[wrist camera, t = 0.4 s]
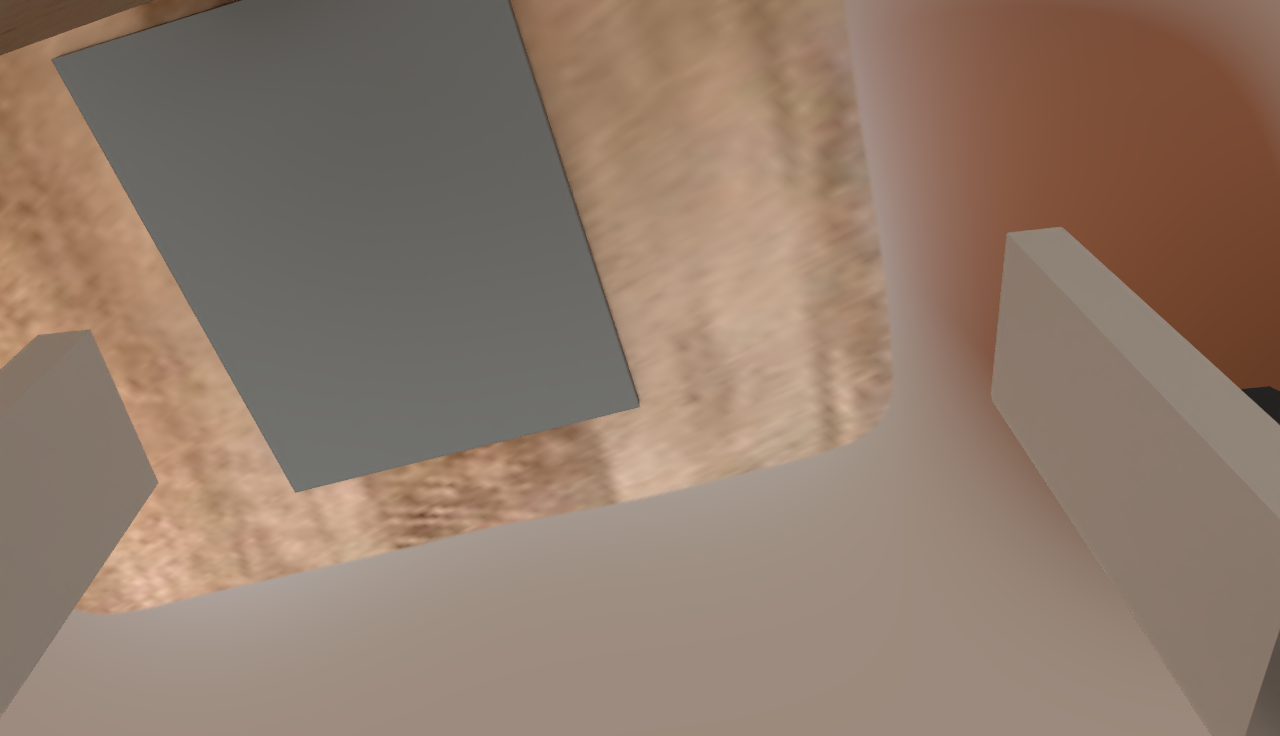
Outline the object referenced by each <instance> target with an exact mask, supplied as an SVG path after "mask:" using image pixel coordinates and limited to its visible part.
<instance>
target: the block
mask: <svg viewBox="0 0 1280 736" xmlns="http://www.w3.org/2000/svg"><path fill="white" fill-rule="evenodd" d="M149 1H152V0H0V55H2V54H5V53H8V52H11V51H13V50H16V49H19V48H22V47H24V46H27V45H30V44H33V43H36V42H38V41H41V40H44V39H47V38H49V37H52V36H55V35H58V34H61V33H63V32H66V31H69V30H72V29H74V28H77V27H80V26H83V25H86V24H88V23H91V22H94V21H97V20H99V19H102V18H105V17H108V16H111V15H113V14H116V13H119V12H122V11H124V10H127V9H130V8H133V7H136V6H138V5H141V4H144V3H147V2H149Z"/></svg>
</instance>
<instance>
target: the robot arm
mask: <svg viewBox="0 0 1280 736" xmlns="http://www.w3.org/2000/svg"><path fill="white" fill-rule="evenodd" d="M991 400H992V401H993V403H994V404H995V406H996V407H997V409H998V410H999V412H1000V413H1001V415H1002V416H1003V418H1004V420H1005V421H1006V422H1007V424H1008V425H1009V427H1010V429H1011V430H1012V431H1013V433H1014V435H1015V436H1016V438H1017V439H1018V441H1019V442H1020V444H1021V445H1022V447H1023V448H1024V450H1025V451H1026V453H1027V455H1028V456H1029V458H1030V459H1031V461H1032V462H1033V464H1034V465H1035V467H1036V468H1037V470H1038V471H1039V473H1040V474H1041V476H1042V478H1043V479H1044V481H1045V482H1046V484H1047V485H1048V487H1049V488H1050V490H1051V491H1052V493H1053V494H1054V496H1055V497H1056V499H1057V500H1058V502H1059V503H1060V505H1061V507H1062V508H1063V510H1064V511H1065V513H1066V514H1067V516H1068V517H1069V519H1070V520H1071V522H1072V523H1073V525H1074V526H1075V528H1076V529H1077V531H1078V532H1079V534H1080V535H1081V537H1082V539H1083V540H1084V541H1085V543H1086V544H1087V546H1088V547H1089V549H1090V551H1091V552H1092V554H1093V555H1094V557H1095V558H1096V560H1097V561H1098V563H1099V564H1100V566H1101V568H1102V569H1103V571H1104V572H1105V574H1106V575H1107V576H1108V578H1109V580H1110V581H1111V583H1112V584H1113V586H1114V587H1115V589H1116V590H1117V592H1118V593H1119V595H1120V597H1121V598H1122V600H1123V601H1124V603H1125V604H1126V606H1127V607H1128V609H1129V610H1130V612H1131V613H1132V615H1133V616H1134V618H1135V619H1136V621H1137V622H1138V624H1139V626H1140V627H1141V628H1142V630H1143V632H1144V633H1145V635H1146V636H1147V638H1148V639H1149V641H1150V642H1151V644H1152V645H1153V647H1154V648H1155V650H1156V651H1157V653H1158V654H1159V656H1160V658H1161V659H1162V660H1163V662H1164V664H1165V665H1166V667H1167V668H1168V670H1169V671H1170V673H1171V674H1172V676H1173V677H1174V679H1175V680H1176V682H1177V684H1178V685H1179V686H1180V688H1181V690H1182V691H1183V693H1184V694H1185V696H1186V697H1187V699H1188V700H1189V702H1190V703H1191V705H1192V706H1193V708H1194V709H1195V711H1196V713H1197V714H1198V716H1199V717H1200V719H1201V720H1202V722H1203V723H1204V725H1205V726H1206V728H1207V729H1208V731H1209V732H1210V734H1211V735H1212V736H1280V391H1278V390H1276V389H1273V388H1272V387H1269V386H1268V387H1258V388H1249V389H1240V388H1238V387H1237V386H1236V385H1235V384H1234V383H1233V382H1232V381H1231V380H1230V379H1228V378H1227V377H1226V376H1225V375H1224V374H1223V373H1222V372H1221V371H1220V370H1219V369H1218V368H1216V367H1215V366H1214V365H1213V364H1212V363H1211V362H1210V361H1209V360H1208V359H1206V358H1205V357H1204V356H1203V355H1202V354H1201V353H1200V352H1199V351H1198V350H1197V349H1196V348H1194V347H1193V346H1192V345H1191V344H1190V343H1189V342H1188V341H1187V340H1186V339H1185V338H1183V337H1182V336H1181V335H1180V334H1179V333H1178V332H1177V331H1176V330H1174V328H1172V327H1171V326H1170V325H1169V324H1168V323H1167V322H1166V321H1165V320H1164V319H1162V318H1161V317H1160V316H1159V315H1158V314H1157V313H1156V312H1155V311H1154V310H1153V309H1152V308H1150V307H1149V306H1148V305H1147V304H1146V303H1145V302H1144V301H1143V300H1142V299H1141V298H1139V297H1138V296H1137V295H1136V294H1135V293H1134V292H1132V290H1130V288H1128V287H1127V286H1126V285H1125V284H1124V283H1123V282H1122V281H1121V280H1120V279H1119V278H1117V277H1116V276H1115V275H1114V274H1113V273H1112V272H1111V271H1110V270H1109V269H1107V268H1106V267H1105V266H1104V265H1103V264H1102V263H1101V262H1100V261H1099V260H1097V259H1096V258H1095V257H1094V256H1093V255H1092V254H1091V253H1090V252H1089V251H1088V250H1087V249H1086V248H1084V247H1083V246H1082V245H1081V244H1080V243H1079V242H1078V241H1077V240H1076V239H1074V238H1073V237H1072V236H1071V235H1070V234H1069V233H1068V232H1067V231H1066V230H1064V229H1063V228H1062V227H1057V228H1048V229H1038V230H1028V231H1019V232H1010V233H1007V237H1006V248H1005V258H1004V268H1003V278H1002V288H1001V299H1000V308H999V319H998V329H997V339H996V349H995V360H994V369H993V380H992V391H991ZM157 484H158V481H157V478H156V476H155V474H154V472H153V469H152V467H151V465H150V463H149V460H148V458H147V456H146V454H145V451H144V449H143V447H142V445H141V442H140V440H139V438H138V436H137V433H136V431H135V429H134V427H133V424H132V422H131V420H130V418H129V415H128V413H127V411H126V409H125V406H124V404H123V402H122V400H121V397H120V395H119V393H118V391H117V388H116V386H115V384H114V382H113V380H112V377H111V375H110V373H109V371H108V368H107V366H106V364H105V362H104V359H103V357H102V355H101V353H100V350H99V348H98V346H97V344H96V341H95V339H94V337H93V335H92V332H91V330H82V331H73V332H63V333H54V334H44V335H38V336H37V337H36V338H35V339H33V340H32V341H31V342H30V343H29V344H28V345H27V346H26V347H25V348H24V349H23V350H21V351H20V352H19V353H18V354H17V355H16V356H15V357H14V358H13V359H12V360H11V361H9V362H8V363H7V364H6V365H5V366H4V367H3V368H2V369H1V370H0V718H1V716H2V715H3V713H4V712H5V710H6V709H7V707H8V706H9V704H10V703H11V702H12V700H13V699H14V697H15V695H16V694H17V693H18V691H19V690H20V688H21V686H22V685H23V683H24V682H25V681H26V679H27V678H28V676H29V675H30V673H31V672H32V670H33V668H34V667H35V666H36V664H37V663H38V661H39V660H40V658H41V657H42V655H43V653H44V652H45V651H46V649H47V648H48V646H49V645H50V643H51V642H52V640H53V639H54V637H55V636H56V634H57V633H58V631H59V630H60V629H61V627H62V625H63V624H64V622H65V621H66V620H67V618H68V616H69V615H70V614H71V612H72V611H73V609H74V608H75V606H76V605H77V603H78V602H79V600H80V599H81V597H82V596H83V594H84V593H85V591H86V590H87V588H88V587H89V585H90V584H91V582H92V581H93V579H94V578H95V576H96V575H97V573H98V572H99V570H100V569H101V567H102V566H103V564H104V563H105V561H106V560H107V559H108V557H109V556H110V554H111V553H112V551H113V550H114V548H115V547H116V545H117V544H118V542H119V541H120V539H121V538H122V536H123V535H124V533H125V532H126V530H127V529H128V527H129V526H130V524H131V523H132V521H133V520H134V518H135V517H136V515H137V514H138V512H139V511H140V509H141V508H142V506H143V505H144V503H145V502H146V500H147V499H148V497H149V496H150V494H151V493H152V491H153V490H154V488H155V487H156V486H157Z"/></svg>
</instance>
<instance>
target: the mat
mask: <svg viewBox="0 0 1280 736" xmlns="http://www.w3.org/2000/svg"><path fill="white" fill-rule="evenodd" d="M51 60H52V62H53V64H54V66H55V67H56V69H57V71H58V73H59V74H60V76H61V78H62V80H63V81H64V83H65V85H66V87H67V89H68V90H69V92H70V94H71V96H72V97H73V99H74V101H75V103H76V105H77V106H78V108H79V110H80V112H81V113H82V115H83V117H84V119H85V120H86V122H87V124H88V126H89V128H90V129H91V131H92V133H93V135H94V136H95V138H96V140H97V142H98V144H99V145H100V147H101V149H102V151H103V152H104V154H105V156H106V158H107V159H108V161H109V163H110V165H111V167H112V168H113V170H114V172H115V174H116V175H117V177H118V179H119V181H120V183H121V184H122V186H123V188H124V190H125V191H126V193H127V195H128V197H129V198H130V200H131V202H132V204H133V206H134V207H135V209H136V211H137V213H138V214H139V216H140V218H141V220H142V222H143V223H144V225H145V227H146V229H147V230H148V232H149V234H150V236H151V237H152V239H153V241H154V243H155V245H156V246H157V248H158V250H159V252H160V253H161V255H162V257H163V259H164V261H165V262H166V264H167V266H168V268H169V269H170V271H171V273H172V275H173V276H174V278H175V280H176V282H177V284H178V285H179V287H180V289H181V291H182V292H183V294H184V296H185V298H186V300H187V301H188V303H189V305H190V307H191V308H192V310H193V312H194V314H195V316H196V317H197V319H198V321H199V323H200V324H201V326H202V328H203V330H204V331H205V333H206V335H207V337H208V339H209V340H210V342H211V344H212V346H213V347H214V349H215V351H216V353H217V355H218V356H219V358H220V360H221V362H222V363H223V365H224V367H225V369H226V370H227V372H228V374H229V376H230V378H231V379H232V381H233V383H234V385H235V386H236V388H237V390H238V392H239V394H240V395H241V397H242V399H243V401H244V402H245V404H246V406H247V408H248V409H249V411H250V413H251V415H252V417H253V418H254V420H255V422H256V424H257V425H258V427H259V429H260V431H261V433H262V434H263V436H264V438H265V440H266V441H267V443H268V445H269V447H270V448H271V450H272V452H273V454H274V456H275V457H276V459H277V461H278V463H279V464H280V466H281V468H282V470H283V472H284V473H285V475H286V477H287V479H288V480H289V482H290V484H291V486H292V487H293V489H294V491H295V493H296V492H300V491H304V490H308V489H312V488H316V487H320V486H324V485H328V484H332V483H336V482H340V481H344V480H348V479H352V478H356V477H360V476H364V475H368V474H372V473H376V472H380V471H384V470H388V469H392V468H396V467H400V466H404V465H408V464H412V463H416V462H420V461H424V460H428V459H432V458H436V457H440V456H444V455H449V454H453V453H457V452H461V451H465V450H469V449H473V448H477V447H481V446H485V445H489V444H493V443H497V442H501V441H505V440H509V439H513V438H517V437H521V436H525V435H529V434H533V433H537V432H541V431H545V430H549V429H553V428H557V427H561V426H565V425H569V424H573V423H577V422H581V421H585V420H589V419H593V418H597V417H601V416H605V415H609V414H613V413H617V412H622V411H626V410H630V409H634V408H638V407H639V399H638V395H637V392H636V389H635V386H634V383H633V380H632V377H631V374H630V371H629V368H628V365H627V362H626V358H625V355H624V352H623V349H622V346H621V343H620V340H619V337H618V334H617V331H616V328H615V324H614V321H613V318H612V315H611V312H610V309H609V306H608V303H607V300H606V297H605V294H604V290H603V287H602V284H601V281H600V278H599V275H598V272H597V269H596V266H595V263H594V260H593V256H592V253H591V250H590V247H589V244H588V241H587V238H586V235H585V232H584V229H583V226H582V222H581V219H580V216H579V213H578V210H577V207H576V204H575V201H574V198H573V195H572V192H571V188H570V185H569V182H568V179H567V176H566V173H565V170H564V167H563V164H562V161H561V158H560V155H559V151H558V148H557V145H556V142H555V139H554V136H553V133H552V130H551V127H550V124H549V121H548V117H547V114H546V111H545V108H544V105H543V102H542V99H541V96H540V93H539V90H538V87H537V83H536V80H535V77H534V74H533V71H532V68H531V65H530V62H529V59H528V56H527V53H526V49H525V46H524V43H523V40H522V37H521V34H520V31H519V28H518V25H517V22H516V19H515V15H514V12H513V9H512V6H511V3H510V0H239V1H236V2H233V3H229V4H226V5H223V6H220V7H216V8H213V9H210V10H207V11H204V12H200V13H197V14H194V15H191V16H188V17H184V18H181V19H178V20H175V21H171V22H168V23H165V24H162V25H159V26H155V27H152V28H149V29H146V30H142V31H139V32H136V33H133V34H130V35H126V36H123V37H120V38H117V39H114V40H110V41H107V42H104V43H101V44H97V45H94V46H91V47H88V48H85V49H81V50H78V51H75V52H72V53H69V54H65V55H62V56H59V57H56V58H54V59H51Z"/></svg>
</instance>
